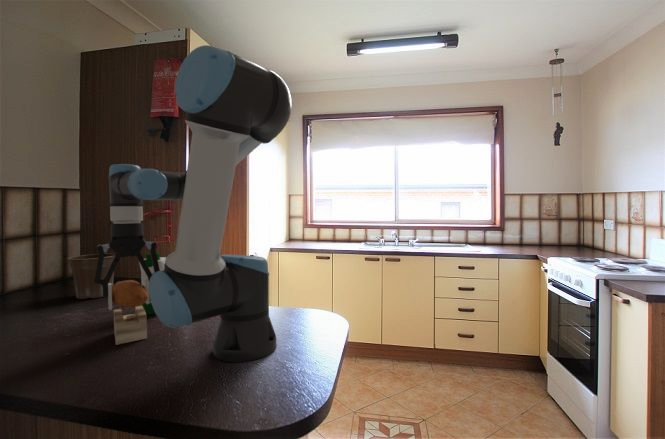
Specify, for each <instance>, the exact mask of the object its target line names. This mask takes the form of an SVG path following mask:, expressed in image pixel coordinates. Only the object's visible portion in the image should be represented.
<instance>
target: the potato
mask: <svg viewBox="0 0 665 439" xmlns="http://www.w3.org/2000/svg"><path fill="white" fill-rule="evenodd" d="M147 299H148V293H147V291H146V290H145V289H144V288H143V287H142V284H140V282H138V281H136V280H134V279H128V280H127V279H126V280H122V281H120V280H119V281H117V282H116V283H113V286H112V304H113V303H114V304H115V305H116V306H122V307H127V308H135V307H137V306H142V304H144V303H145V302H146V300H147Z"/></svg>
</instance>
